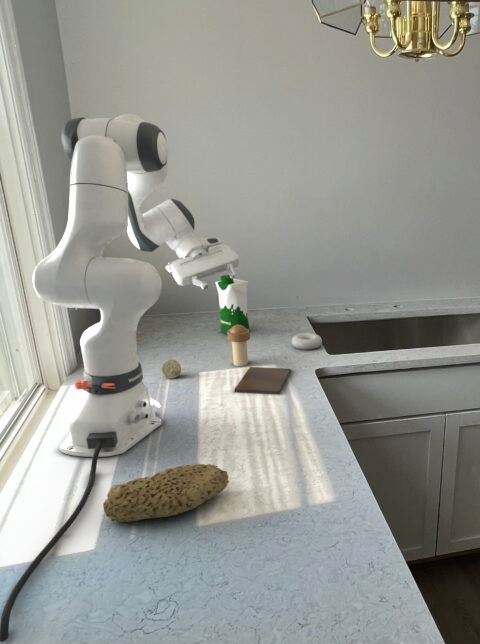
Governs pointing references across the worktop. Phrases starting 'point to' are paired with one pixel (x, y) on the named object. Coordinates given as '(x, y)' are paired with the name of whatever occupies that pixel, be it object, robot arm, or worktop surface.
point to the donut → (306, 341)
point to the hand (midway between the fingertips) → (219, 282)
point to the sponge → (164, 493)
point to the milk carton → (232, 302)
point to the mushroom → (239, 344)
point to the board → (263, 380)
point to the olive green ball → (171, 369)
